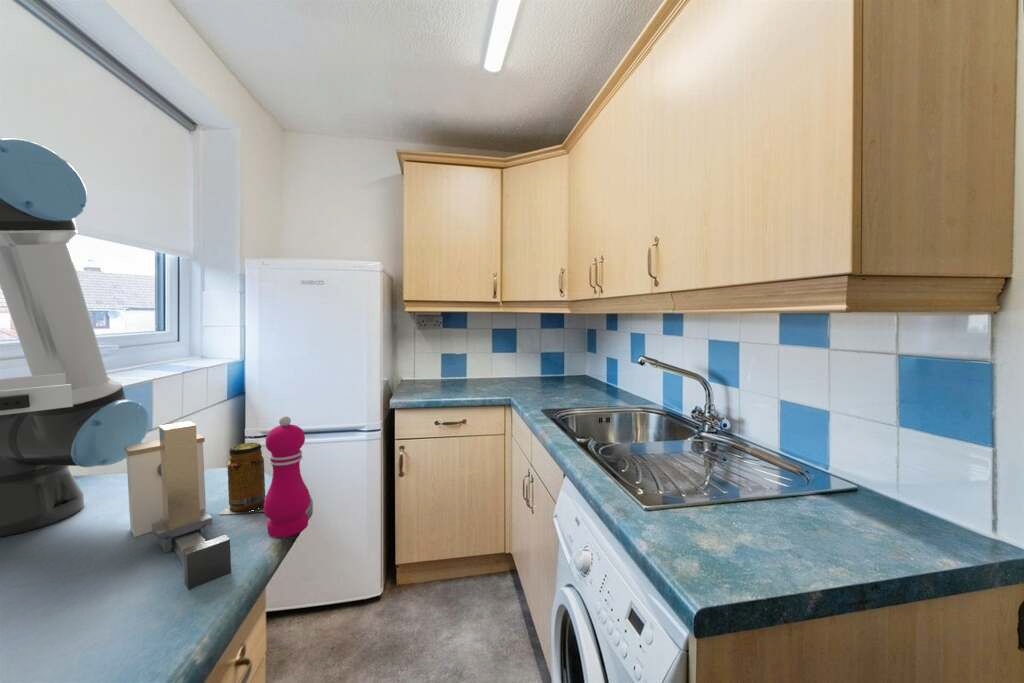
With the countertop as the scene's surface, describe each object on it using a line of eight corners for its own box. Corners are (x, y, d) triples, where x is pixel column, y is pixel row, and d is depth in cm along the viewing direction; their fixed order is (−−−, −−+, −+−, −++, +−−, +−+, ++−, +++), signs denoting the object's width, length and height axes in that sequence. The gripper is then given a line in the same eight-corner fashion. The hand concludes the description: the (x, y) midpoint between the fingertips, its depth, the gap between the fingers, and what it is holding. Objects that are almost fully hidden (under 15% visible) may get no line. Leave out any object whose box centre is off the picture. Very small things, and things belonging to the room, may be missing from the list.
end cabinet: (128, 529, 72) (124, 446, 71) (201, 508, 79) (198, 433, 79) (133, 538, 68) (128, 452, 68) (208, 515, 76) (204, 438, 76)
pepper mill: (320, 520, 74) (317, 412, 73) (290, 541, 67) (286, 422, 66) (286, 516, 76) (283, 410, 75) (254, 536, 69) (249, 420, 68)
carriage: (152, 543, 66) (146, 427, 65) (204, 526, 72) (199, 418, 71) (158, 554, 63) (152, 432, 62) (212, 536, 69) (207, 423, 68)
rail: (153, 531, 71) (152, 503, 71) (189, 520, 75) (188, 493, 74) (188, 590, 55) (186, 554, 55) (231, 572, 59) (229, 539, 59)
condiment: (239, 498, 84) (237, 441, 83) (282, 496, 85) (281, 439, 84) (217, 515, 77) (215, 452, 76) (265, 513, 77) (263, 451, 77)
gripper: (-209, 434, 47) (65, 403, 63) (-336, 498, 31) (77, 434, 47) (-217, 369, 46) (61, 354, 62) (-351, 399, 30) (72, 368, 46)
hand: (69, 388), depth 55 cm, fingers open, 13 cm apart
